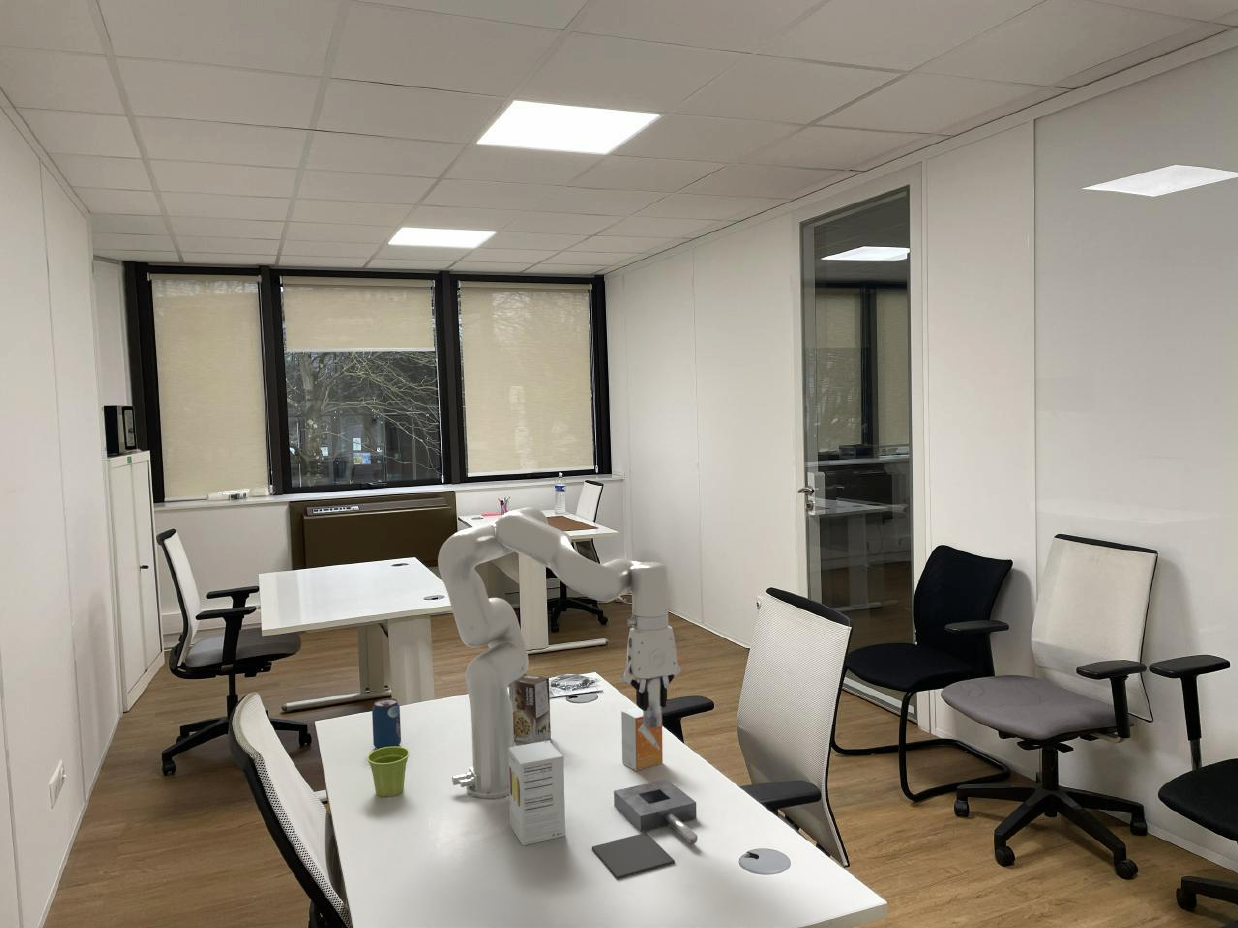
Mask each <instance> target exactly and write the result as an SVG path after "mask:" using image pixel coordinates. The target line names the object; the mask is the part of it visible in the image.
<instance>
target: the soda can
mask: <svg viewBox="0 0 1238 928" xmlns="http://www.w3.org/2000/svg"><path fill="white" fill-rule="evenodd" d="M371 715H372V718H371V719H372V720H371V721H372V736H373V737H372V739H373V741H372V743H373V747H374V748H375V750H378V749H381V748H385V747H400V745H401V743H402V731H401V730H402V729H401V727H402V726H401V708H400V705H399V703H398V700H397V698H396V699H395V698H391V697H389V698H387V697H386V698H381V699H378V700H376V701H374V704H373V706H372V709H371Z"/></svg>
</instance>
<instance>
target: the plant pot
mask: <svg viewBox="0 0 1238 928" xmlns="http://www.w3.org/2000/svg"><path fill="white" fill-rule="evenodd" d="M410 755H411V751H410V750H409V749H408V748H406V747H402V746H399V747H385V748H381V749H378V750H377V749H375V750H373V751H371V752H370V753H368V754H367V756H366V759H367V762H368V763H369V766H370V768H371V771H372V772H371V773H372V779H373V783H374V784H373V785H374V789H375V793H376V795H377V796H379V797H381V798H382V797H389V798H390V797H394V796H398V795H400V794H401V793H402V792H403V790H404V789H405V780H406V778H405V777H406V769H407V762H408V759H409V757H410Z"/></svg>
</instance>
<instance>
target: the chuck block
mask: <svg viewBox="0 0 1238 928" xmlns="http://www.w3.org/2000/svg"><path fill="white" fill-rule="evenodd" d="M613 796H614V797H613V802H614V803H613V804H614V808H615V809H616V810H617V811H618V812H619V813H620V814H622V816H624V817H625V819H627V820H628V822H630V824H631V825H633V827H635V828H636V830H637V831H638V832H640V834H643V833H647V832H649V831H653V830H658V829H662V828H664V827H669V826H670V827H671V828H672V829H674V830H675V831H676V832H677V833H679V835H680V836H682V838H683V839H685V840H686V841H687V842H688V843H689V844H690V845H694V844H695V843H697V841H698V835H697V833H695V832H694V831H693V830H692V829H690V828H689V827H688V826H687V825H686V824H685V822H689V821H692V820H696V819H697V816H698V815H697V802H696V801H695V800H694V799H693V798H692V797H690V796H689V794H687V793H686V792H684V790H682V789H681V788H680V787H678V786H677V785H676V784H674V783H673V782H672V781H671V780H669V779H668V778H664V779H661V780H660V779H659V780H655V781H651V782H647V783H642V784H637V785H634V786H628V787H625V788H624V787H623V788H620V789H616V790H614V791H613Z"/></svg>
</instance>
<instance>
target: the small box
mask: <svg viewBox="0 0 1238 928" xmlns="http://www.w3.org/2000/svg"><path fill="white" fill-rule="evenodd" d="M620 713H621V716H620V717H621V718H620V719H621V763H622V764H624V765H625V766H627V767H628V768H630V769H632V770H634V771H635V772H637V771H640V770H643V769H646V768H650V767H654V766H657V765H661V764H664V763H663V762H664V761H663V710H661V726H659V727H646V726H644V725H643V710H642V709H640V708H639V707H638V706H637V707H636V706H635V707H631V708H630V709H629V708H628V709H625V710H621V711H620Z"/></svg>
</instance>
